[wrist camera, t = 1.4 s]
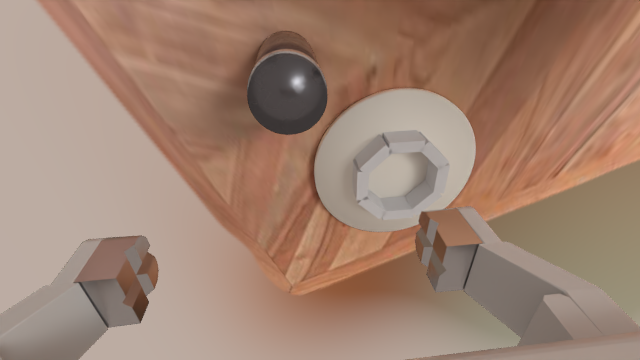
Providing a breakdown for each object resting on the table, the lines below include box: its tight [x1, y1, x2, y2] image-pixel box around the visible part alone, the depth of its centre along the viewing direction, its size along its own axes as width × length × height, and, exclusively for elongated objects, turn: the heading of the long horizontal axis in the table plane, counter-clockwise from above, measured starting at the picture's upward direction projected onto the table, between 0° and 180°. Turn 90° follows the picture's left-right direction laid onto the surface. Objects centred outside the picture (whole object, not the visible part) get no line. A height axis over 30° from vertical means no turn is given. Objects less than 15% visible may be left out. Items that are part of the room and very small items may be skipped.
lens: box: [247, 31, 327, 135], centre depth 25 cm, size 5×5×10 cm
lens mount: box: [314, 88, 476, 232], centre depth 35 cm, size 18×18×4 cm
